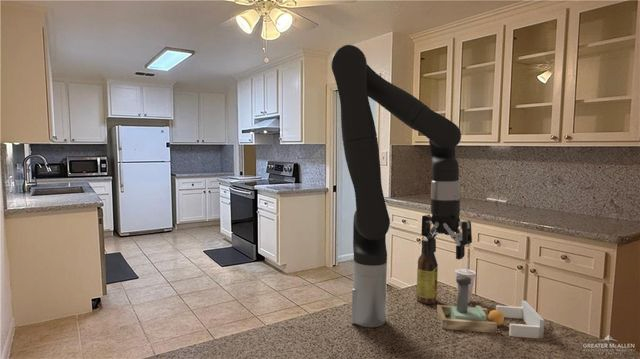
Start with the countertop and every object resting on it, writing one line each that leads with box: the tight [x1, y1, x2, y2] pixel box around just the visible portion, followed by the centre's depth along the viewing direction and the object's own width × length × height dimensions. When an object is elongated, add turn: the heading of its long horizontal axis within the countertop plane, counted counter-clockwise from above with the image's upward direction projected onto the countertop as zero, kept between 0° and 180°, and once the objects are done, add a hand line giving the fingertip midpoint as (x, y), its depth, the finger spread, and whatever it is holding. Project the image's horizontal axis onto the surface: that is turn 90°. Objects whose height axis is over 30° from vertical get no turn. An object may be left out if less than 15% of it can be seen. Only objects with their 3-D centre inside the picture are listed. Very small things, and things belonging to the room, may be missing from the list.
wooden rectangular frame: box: [436, 304, 498, 334], centre depth 111 cm, size 14×10×2 cm
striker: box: [449, 276, 488, 321], centre depth 110 cm, size 8×7×13 cm
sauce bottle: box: [416, 237, 439, 305], centre depth 125 cm, size 7×6×20 cm
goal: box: [495, 300, 545, 339], centre depth 108 cm, size 8×13×5 cm, turn 172°
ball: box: [487, 309, 505, 326], centre depth 109 cm, size 4×4×4 cm
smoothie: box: [454, 257, 477, 304], centre depth 125 cm, size 6×6×14 cm
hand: (445, 255), depth 107 cm, fingers open, 8 cm apart
